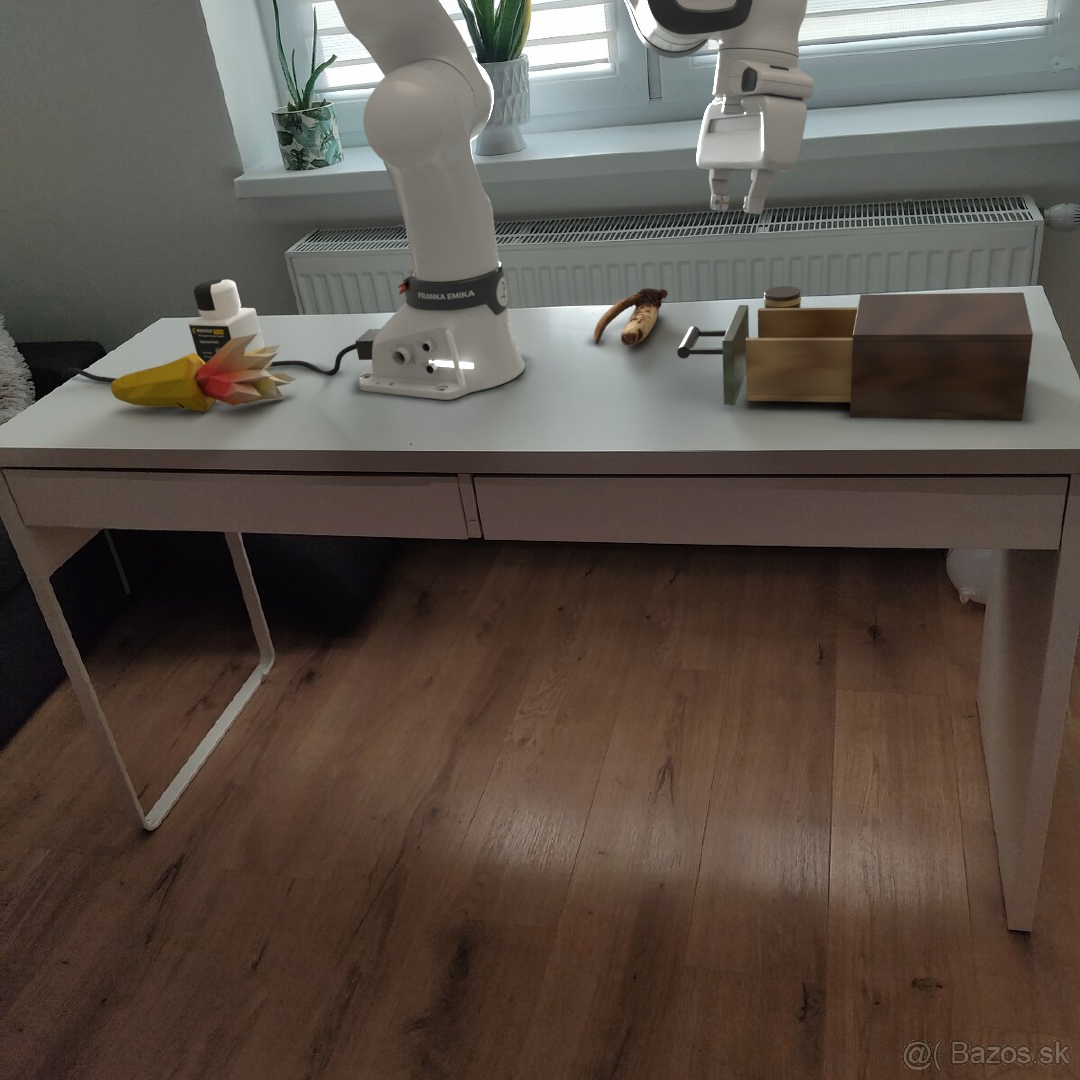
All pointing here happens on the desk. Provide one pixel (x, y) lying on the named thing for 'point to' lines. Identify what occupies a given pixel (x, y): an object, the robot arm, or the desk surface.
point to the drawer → (784, 354)
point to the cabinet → (941, 356)
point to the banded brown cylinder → (782, 297)
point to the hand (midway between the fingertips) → (734, 212)
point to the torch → (205, 379)
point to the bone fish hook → (634, 315)
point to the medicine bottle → (222, 319)
